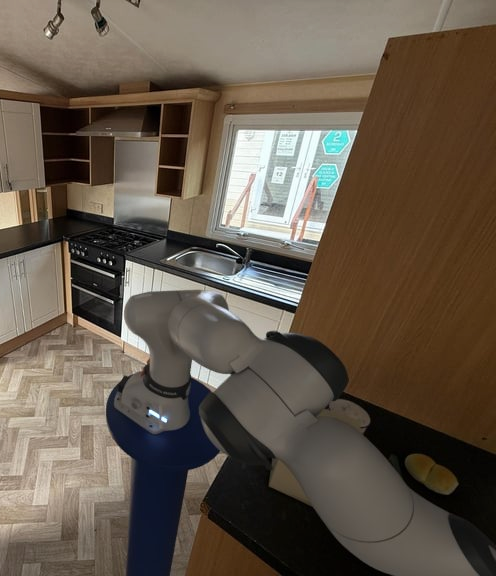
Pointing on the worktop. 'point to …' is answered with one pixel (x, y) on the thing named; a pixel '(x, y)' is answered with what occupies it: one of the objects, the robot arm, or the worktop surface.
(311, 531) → the worktop surface
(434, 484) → the bread roll
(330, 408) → the enamel mug with lid
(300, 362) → the robot arm
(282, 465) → the cube with dark spot
